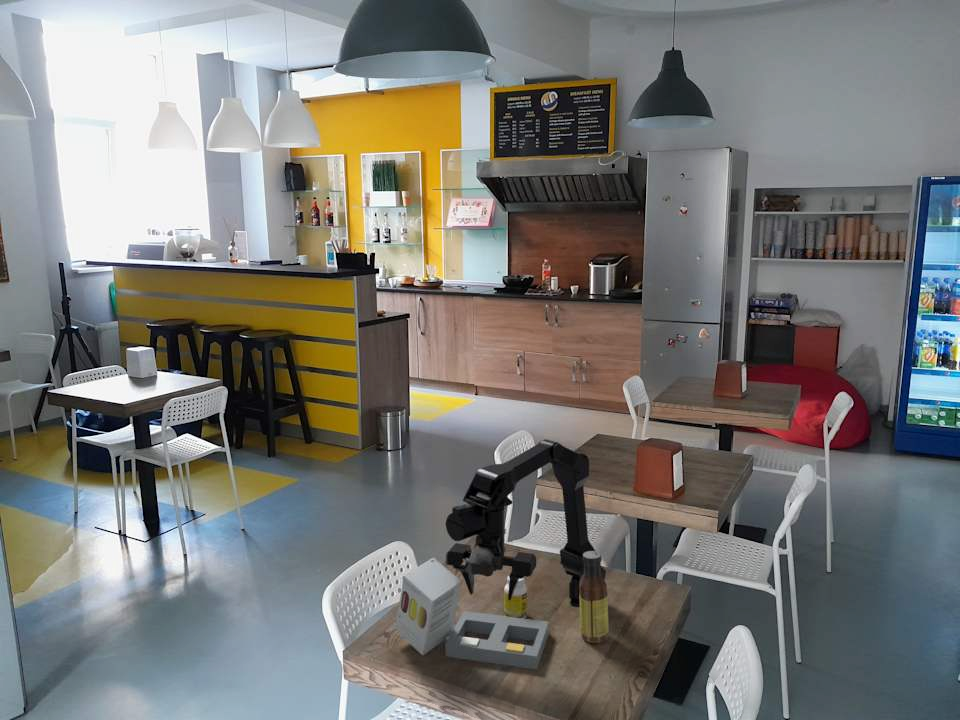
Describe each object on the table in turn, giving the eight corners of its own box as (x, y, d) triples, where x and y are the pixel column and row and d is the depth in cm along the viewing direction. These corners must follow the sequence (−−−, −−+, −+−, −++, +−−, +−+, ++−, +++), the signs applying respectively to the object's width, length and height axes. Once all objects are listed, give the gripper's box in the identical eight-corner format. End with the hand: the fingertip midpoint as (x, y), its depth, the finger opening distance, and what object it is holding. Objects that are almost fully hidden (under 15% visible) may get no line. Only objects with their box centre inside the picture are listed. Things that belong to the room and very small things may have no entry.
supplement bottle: (525, 622, 171) (525, 583, 169) (502, 620, 172) (502, 581, 171) (528, 610, 176) (528, 572, 175) (506, 608, 178) (505, 571, 176)
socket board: (548, 633, 166) (548, 620, 166) (536, 669, 153) (536, 654, 152) (464, 622, 172) (463, 609, 171) (445, 656, 158) (445, 642, 158)
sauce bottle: (610, 632, 166) (611, 550, 163) (605, 647, 161) (606, 562, 157) (581, 627, 169) (582, 546, 165) (576, 642, 163) (576, 558, 159)
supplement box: (393, 629, 164) (401, 574, 156) (423, 609, 170) (432, 555, 162) (423, 657, 158) (432, 601, 150) (452, 634, 165) (463, 580, 157)
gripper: (436, 536, 151) (436, 607, 153) (524, 548, 145) (523, 622, 147) (454, 517, 161) (454, 584, 164) (537, 527, 155) (536, 596, 158)
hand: (490, 596), depth 158 cm, fingers open, 8 cm apart
